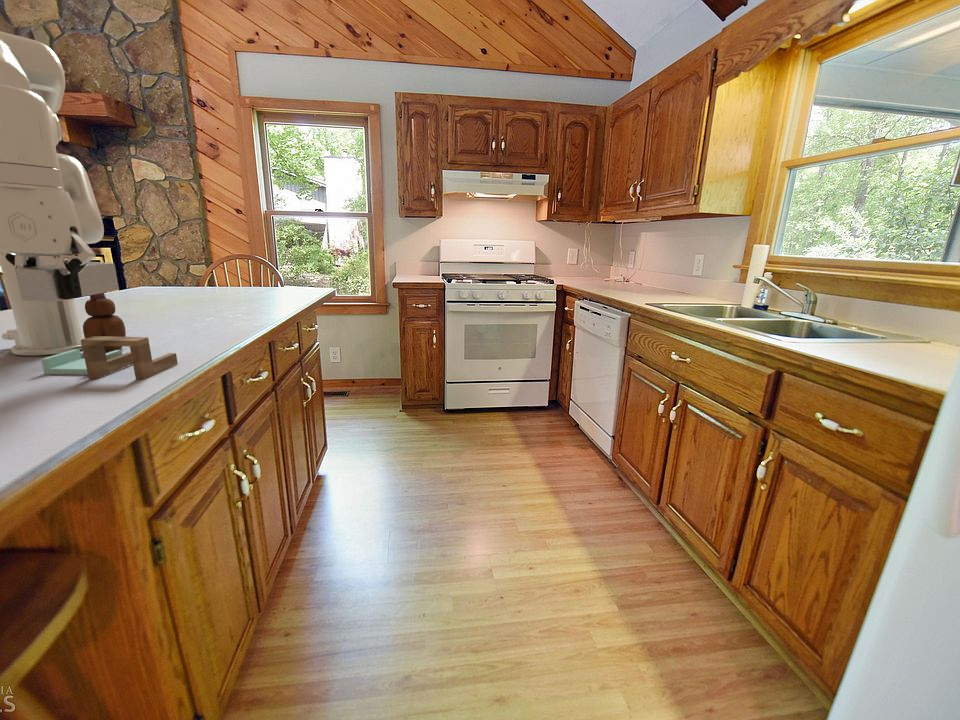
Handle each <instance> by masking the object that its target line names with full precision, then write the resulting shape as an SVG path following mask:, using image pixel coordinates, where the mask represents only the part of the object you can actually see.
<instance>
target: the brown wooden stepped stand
mask: <svg viewBox="0 0 960 720" xmlns="http://www.w3.org/2000/svg"><path fill="white" fill-rule="evenodd" d="M81 345H82V353H83V357H84V358H85V363H86V368H87V372H88V374H87V377H88V379H89V380H98V379H100V378H102V377H101V376H103V377H104V375H106V374H108V375H110V374H109V373H111V372H113V371H116V370H118V369H121V368H123V367H126V366H128V365H131V364H133V365H131V366H132V367H133V371H134V376H135V380H146V379H147V377H148V378H150V377H152V376H154V375H156V374H159V373H160V372H163V371H166V370H168V369H170V368H172V367H174V366H177V365H178V364H179V363H178V357H177V353H176V352H173V353H172V352H170V353H166V354H163V355H162V356H159V357H156V358H154V359H153V357H152V351H151V346H150V340H149V337H148V336H126V337H110V336H93V337H90V338H86V339H82V340H81ZM104 346H123V347H129V350H130V352H126V353H122V355H119V356H116V357H113V358H111V359H108V360H107V359H106V354H105V353H106V352H105V349H104ZM126 368H127V367H126ZM123 369H124V368H123ZM121 370H122V369H121ZM118 371H119V370H118ZM116 372H117V371H116ZM113 373H114V372H113ZM111 374H112V373H111ZM106 376H107V375H106ZM99 377H100V378H99ZM97 378H98V379H97ZM145 378H146V379H145Z"/></svg>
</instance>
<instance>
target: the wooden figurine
mask: <svg viewBox="0 0 960 720" xmlns="http://www.w3.org/2000/svg"><path fill="white" fill-rule="evenodd" d="M84 310H85V312H86V314H87V315H88V316H89V317H88V318H87V319H86V320H84V322H83V325H82V332H83V338H85V339H86V338H90V337H93V336H110V337H127V335H126V334H127V332H126V325H125V322H124V321H123V319H122V318H121V317H120V316H118V315H115V312H116V304H115V303H114V300H112V299H110V298H107V297H106V295H105V293H100V294H94V295H89V299H87V301H85V304H84ZM123 347H124V346H104V349H105V353H107V352H106V351H109V352H112V351H114V350H121V349H122V348H123Z"/></svg>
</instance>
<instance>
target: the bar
mask: <svg viewBox="0 0 960 720" xmlns="http://www.w3.org/2000/svg"><path fill="white" fill-rule="evenodd" d="M66 263H67V264H68V262H66ZM14 269H15V273H16V277H17V281H18V285H19V289H20V294H21V298H22V300H26V301H43V302H57V301H62V300H66V299H63V298H62V295H61V290H60V286H59V281H58V276H57V275H62V274H61V273H60V271H59V269H58V266H57V264H56V265H45V266H34V267H23V268H14ZM78 277H79V282H80V287H81V293H82V297H90V295H94V294H100V293H104V294H105V293H111V292H115V291H120V286H119V282H118V277H117V270H116V265H115V263H114V262H105V261H104V262H100V261H89V262H87V264H86V265H85V266H84V267H83V269H82V272H81V273H79V274H78ZM82 297H81V298H82Z"/></svg>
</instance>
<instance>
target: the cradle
mask: <svg viewBox="0 0 960 720" xmlns="http://www.w3.org/2000/svg"><path fill="white" fill-rule="evenodd" d="M105 354H106V359H107V360H108V359H111V358H113V357H116V356H119V355H122V354H123V350H122V349H118V350H115V351H109V352H105ZM40 361H41V365H42V368H43V373H44V374H45V375H88V372H87V368H86V363H85V358H83V357H82V353H81V350H80V349H74V350H70V351H67V352H63V353H60V354H52V355H51V356H50V355H49V356H46V357H44V358H43V357H42V358H40Z"/></svg>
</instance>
